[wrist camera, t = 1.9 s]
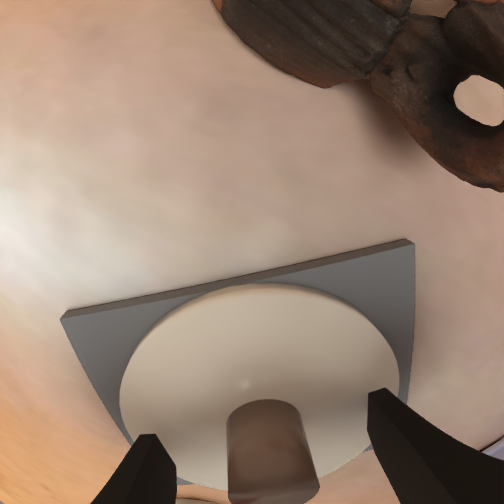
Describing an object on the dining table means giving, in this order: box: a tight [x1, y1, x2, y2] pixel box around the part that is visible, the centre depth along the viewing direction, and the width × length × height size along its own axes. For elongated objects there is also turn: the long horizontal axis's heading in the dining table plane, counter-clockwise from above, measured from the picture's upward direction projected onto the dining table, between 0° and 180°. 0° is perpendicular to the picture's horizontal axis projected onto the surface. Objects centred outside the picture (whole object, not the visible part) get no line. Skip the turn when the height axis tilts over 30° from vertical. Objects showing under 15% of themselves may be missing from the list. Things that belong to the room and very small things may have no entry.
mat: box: [60, 239, 415, 485], centre depth 11 cm, size 12×10×1 cm
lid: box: [119, 282, 399, 504], centre depth 9 cm, size 10×10×4 cm
